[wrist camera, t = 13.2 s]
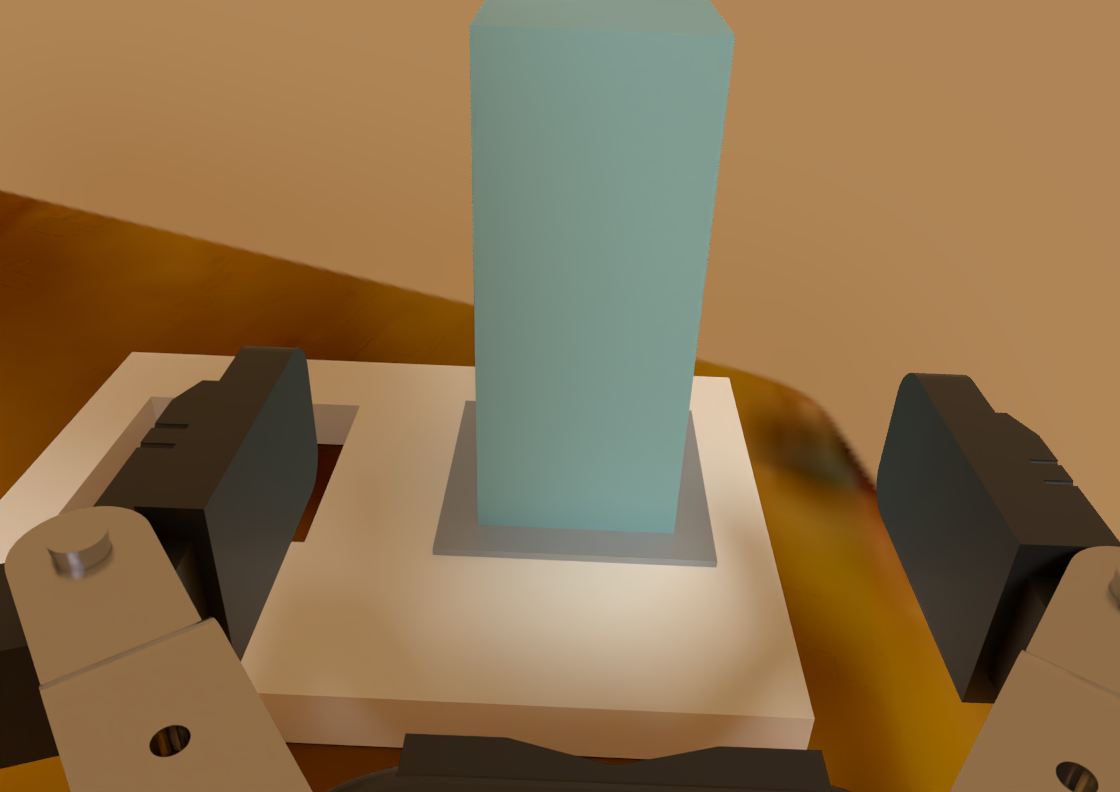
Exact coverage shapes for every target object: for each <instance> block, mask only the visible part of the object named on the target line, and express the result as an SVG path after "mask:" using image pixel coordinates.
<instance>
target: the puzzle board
mask: <svg viewBox="0 0 1120 792" xmlns="http://www.w3.org/2000/svg"><path fill="white" fill-rule="evenodd" d="M234 358H235V356H215V355H192V354H169V353H146V352H132V353H131V354H130V355H129V356H128V357H127V358H126V359H125V361H124V362H123V363H122V364H121V365H120V366H119V367H118V368H117V370H116V371H115V372H114V373H113V374H112V375H111V376H110V377H109V379H108V380H107V381H106V382H105V383H104V384H103V385H102V386H101V388H100V389H99V390H98V391H97V392H96V393H95V394H94V395H93V397H92V398H91V399H90V400H89V401H88V402H87V403H86V404H85V406H84V407H83V408H82V409H81V410H80V411H79V412H78V413H77V415H76V416H75V417H74V418H73V419H72V420H71V421H70V422H69V424H68V425H67V426H66V427H65V428H64V429H63V430H62V431H61V432H60V434H59V435H58V436H57V437H56V438H55V439H54V440H53V441H52V443H51V444H50V445H49V446H48V447H47V448H46V449H45V450H44V452H43V453H42V454H41V455H40V456H39V457H38V458H37V459H36V461H35V462H34V463H33V464H32V465H31V466H30V467H29V468H28V470H27V471H26V472H25V473H24V474H23V475H22V476H21V477H20V479H19V480H18V481H17V482H16V483H15V484H14V485H13V486H12V488H11V489H10V490H9V491H8V492H7V493H6V494H5V495H4V497H3V498H2V499H1V500H0V564H2V563H5V560H6V557H7V554H8V552H9V550H10V549H11V548H12V546H13V545H14V544H15V542H16V541H17V540H18V539H20V538H21V537H22V536H23V535H24V534H25V533H27V532H28V531H29V530H31V529H32V528H34V527H35V526H37V525H39V524H40V523H42V522H44V521H46V520H48V519H50V518H53V517H55V516H58V515H60V514H63V513H66V512H70V511H73V510H77V509H82V508H88V507H93V506H94V504H95V503H96V502H97V500H98V499H99V498H100V496H101V495H102V494H103V492H104V491H105V490H106V488H107V487H108V486H109V484H110V483H111V481H112V480H113V479H114V477H115V476H116V475H117V473H118V472H119V471H120V469H121V468H122V467H123V465H124V464H125V463H126V461H127V460H128V458H129V457H130V456H131V454H132V453H133V452H134V450H135V449H136V448H137V447H140V446H141V443H140V442H141V441H142V440H143V438H144V437H145V436H146V434H147V433H148V431H149V430H150V429H151V428H154V427H155V422H156V421H157V419H158V418H159V417H160V415H161V414H162V413H163V411H164V410H165V408H166V407H167V406H168V404H169V403H170V402H171V400H172V399H174V398H176V397H177V396H179V395H180V394H182V393H183V392H185V391H186V390H188V389H190V388H191V387H193V386H194V385H196V384H197V383H199V382H200V381H202V380H211V381H219V380H220V378H221V377H222V376H223V374H224V373H225V371H226V370H227V368H228V367H229V365H230V364H231V362H232V361H233V359H234ZM306 360H307V365H308V372H309V380H310V388H311V396H312V404H313V413H314V421H315V429H316V437H317V444H334V445H344V446H343V449H342V451H341V454H340V456H339V458H338V461H337V463H336V466H335V468H334V471H333V473H332V476H331V478H330V481H329V483H328V485H327V488H326V490H325V493H324V495H323V498H322V500H321V503H320V505H319V508H318V510H317V512H316V515H315V517H314V520H313V522H312V525H311V527H310V530H309V532H308V535H307V537H306V539H305V542H291V544H290V546H289V549H288V551H287V553H286V556H285V558H284V560H283V563H282V565H281V568H280V570H279V572H278V575H277V577H276V579H275V582H274V584H273V587H272V589H271V591H270V594H269V596H268V598H267V601H266V603H265V606H264V608H263V610H262V613H261V615H260V617H259V620H258V622H257V625H256V627H255V629H254V632H253V634H252V637H251V639H250V641H249V644H248V646H247V648H246V651H245V653H244V656H243V658H242V660H241V664H242V666H243V667H244V669H245V671H246V673H247V675H248V676H249V678H250V680H251V682H252V684H253V685H254V687H255V689H256V691H257V693H258V694H259V696H260V698H261V700H262V702H263V703H264V705H265V707H266V709H267V711H268V712H269V714H270V716H271V718H272V720H273V721H274V723H275V725H276V727H277V729H278V730H279V732H280V734H281V736H282V738H283V739H284V741H285V742H291V743H312V744H334V745H355V746H376V747H398V748H403V743H404V738H405V733H411V734H435V735H459V736H484V737H508V738H511V739H515V740H519V741H522V742H526V743H530V744H534V745H537V746H541V747H545V748H549V749H552V750H556V751H560V752H563V753H567V754H571V755H575V756H590V757H611V758H633V759H654V758H659V757H664V756H670V755H675V754H680V753H686V752H691V751H696V750H702V749H707V748H712V747H717V746H727V747H751V748H775V749H800V750H807V747H808V743H809V739H810V735H811V731H812V727H813V724H814V720H815V718H814V714H813V710H812V706H811V702H810V698H809V694H808V690H807V686H806V682H805V678H804V674H803V670H802V666H801V662H800V658H799V654H798V650H797V646H796V642H795V638H794V634H793V631H792V627H791V623H790V619H789V615H788V611H787V607H786V603H785V599H784V595H783V591H782V587H781V583H780V579H779V575H778V571H777V567H776V563H775V559H774V555H773V551H772V547H771V543H770V539H769V535H768V531H767V527H766V523H765V519H764V515H763V511H762V507H761V503H760V499H759V495H758V491H757V487H756V483H755V479H754V475H753V471H752V468H751V464H750V460H749V456H748V452H747V448H746V444H745V440H744V436H743V432H742V428H741V424H740V420H739V416H738V412H737V408H736V404H735V400H734V396H733V392H732V388H731V384H730V380H729V378H724V377H701V376H693V383H692V391H691V399H690V407H689V415H688V423H687V432H686V440H685V448H684V456H683V464H682V472H681V480H680V488H679V496H678V505H677V513H676V521H675V529H674V533H653V532H630V531H606V530H583V529H560V528H536V527H513V526H489V525H478V509H477V448H476V387H475V367H469V366H446V365H423V364H400V363H377V362H354V361H331V360H308V359H306Z"/></svg>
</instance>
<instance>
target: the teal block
mask: <svg viewBox="0 0 1120 792" xmlns="http://www.w3.org/2000/svg"><path fill="white" fill-rule="evenodd" d="M734 41H735V35H734V33H733V32H732V31H731V29H730V28H729V26H728V25H727V24H726V22H725V21H724V20H723V18H722V17H721V15H720V14H719V13H718V11H717V10H716V9H715V7H714V6H713V4H712V3H711V2H710V0H485V1H484V3H483V5H482V6H481V8H480V9H479V11H478V13H477V14H476V16H475V18H474V19H473V21H472V22H471V24H470V80H471V81H470V82H471V136H472V137H471V140H472V141H471V142H472V198H473V199H472V203H473V263H474V264H473V265H474V326H475V387H476V448H477V509H478V525H489V526H513V527H536V528H560V529H583V530H606V531H630V532H653V533H674V529H675V521H676V513H677V505H678V496H679V488H680V480H681V472H682V464H683V456H684V448H685V440H686V432H687V423H688V415H689V407H690V399H691V391H692V383H693V375H694V367H695V358H696V350H697V342H698V334H699V326H700V318H701V310H702V302H703V294H704V285H705V277H706V269H707V261H708V253H709V245H710V236H711V228H712V220H713V212H714V204H715V196H716V188H717V180H718V171H719V163H720V156H721V147H722V139H723V131H724V123H725V115H726V106H727V99H728V90H729V82H730V74H731V65H732V58H733V50H734Z"/></svg>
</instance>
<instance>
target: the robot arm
mask: <svg viewBox="0 0 1120 792" xmlns="http://www.w3.org/2000/svg"><path fill="white" fill-rule="evenodd" d="M140 443H141V446H140V447H137V448H136V449H135V450H134V452H133V453H132V454H131V456H130V457H129V458H128V460H127V461H126V463H125V464H124V465H123V467H122V468H121V469H120V471H119V472H118V473H117V475H116V476H115V477H114V479H113V480H112V481H111V483H110V484H109V486H108V487H107V488H106V490H105V491H104V492H103V494H102V495H101V496H100V498H99V499H98V500H97V502H96V503H95V504H94V506H93V507H88V508H82V509H77V510H73V511H70V512H66V513H63V514H60V515H58V516H55V517H53V518H50V519H48V520H46V521H44V522H42V523H40V524H39V525H37V526H35V527H34V528H32V529H31V530H29V531H28V532H27V533H25V534H24V535H23V536H22V537H21V538H20V539H18V540H17V541H16V542H15V544H14V545H13V546H12V548H11V549H10V550H9V552H8V554H7V557H6V560H5V563H2V564H0V769H1V768H6V767H10V766H15V765H19V764H24V763H28V762H32V761H37V760H41V759H46V758H50V757H54V756H59V755H60V758H61V762H62V765H63V768H64V771H65V775H66V778H67V781H68V784H69V787H70V791H71V792H312V790H311V788H310V786H309V784H308V783H307V781H306V779H305V777H304V775H303V774H302V772H301V770H300V768H299V766H298V765H297V763H296V761H295V759H294V757H293V756H292V754H291V752H290V750H289V748H288V747H287V745H286V743H285V741H284V739H283V738H282V736H281V734H280V732H279V730H278V729H277V727H276V725H275V723H274V721H273V720H272V718H271V716H270V714H269V712H268V711H267V709H266V707H265V705H264V703H263V702H262V700H261V698H260V696H259V694H258V693H257V691H256V689H255V687H254V685H253V684H252V682H251V680H250V678H249V676H248V675H247V673H246V671H245V669H244V667H243V666H242V664H241V660H242V658H243V656H244V653H245V651H246V648H247V646H248V644H249V641H250V639H251V637H252V634H253V632H254V629H255V627H256V625H257V622H258V620H259V617H260V615H261V613H262V610H263V608H264V606H265V603H266V601H267V598H268V596H269V594H270V591H271V589H272V587H273V584H274V582H275V579H276V577H277V575H278V572H279V570H280V568H281V565H282V563H283V560H284V558H285V556H286V553H287V551H288V549H289V546H290V544H291V541H292V539H293V537H294V534H295V532H296V530H297V527H298V525H299V522H300V520H301V518H302V515H303V513H304V510H305V508H306V506H307V503H308V501H309V499H310V496H311V494H312V491H313V488H314V485H315V480H316V475H317V466H318V446H317V437H316V429H315V421H314V413H313V404H312V396H311V388H310V380H309V372H308V365H307V360H306V356H305V353H304V352H303V350H302V349H301V348H292V347H267V346H244V347H242V348H241V349H240V350H239V352H238V353H237V355H236V356H235V358H234V359H233V361H232V362H231V364H230V365H229V367H228V368H227V370H226V371H225V373H224V374H223V376H222V377H221V378H220V380H219V381H211V380H202V381H200V382H199V383H197V384H196V385H194V386H193V387H191V388H190V389H188V390H186V391H185V392H183V393H182V394H180V395H179V396H177V397H176V398H174V399H172V400H171V402H170V403H169V404H168V406H167V407H166V408H165V410H164V411H163V413H162V414H161V415H160V417H159V418H158V419H157V421H156V422H155V427H154V428H151V429H150V430H149V431H148V433H147V434H146V436H145V437H144V438H143V440H142V441H141V442H140ZM1057 462H1058V460H1057V459H1056V457H1055V456H1054V455H1053V453H1052V452H1051V451H1050V450H1049V448H1048V447H1047V446H1046V444H1045V443H1044V442H1043V440H1042V439H1041V438H1040V436H1039V435H1037V434H1036V433H1035V432H1033V431H1031V430H1030V429H1029V428H1027V427H1026V426H1024V425H1023V424H1022V423H1020V422H1019V421H1017V420H1016V419H1014V418H1013V417H1011V416H1010V415H1008V414H1007V413H995V411H994V410H993V409H992V407H991V406H990V404H989V403H988V402H987V400H986V399H985V398H984V396H983V395H982V393H981V392H980V390H979V389H978V388H977V386H976V385H975V383H974V382H973V381H972V379H971V378H970V377H968V376H966V375H951V374H925V373H909V374H907V375H906V376H905V377H904V378H903V380H902V382H901V384H900V386H899V390H898V393H897V397H896V401H895V405H894V409H893V413H892V417H891V421H890V425H889V429H888V433H887V437H886V441H885V445H884V449H883V453H882V457H881V461H880V464H879V469H878V475H877V502H878V508H879V512H880V515H881V517H882V520H883V522H884V524H885V527H886V529H887V531H888V533H889V536H890V538H891V540H892V543H893V545H894V547H895V550H896V552H897V554H898V556H899V559H900V561H901V563H902V566H903V568H904V570H905V573H906V575H907V577H908V579H909V582H910V584H911V586H912V589H913V591H914V593H915V596H916V598H917V600H918V602H919V605H920V607H921V609H922V612H923V614H924V616H925V619H926V621H927V623H928V625H929V628H930V630H931V632H932V635H933V637H934V639H935V642H936V644H937V646H938V648H939V651H940V653H941V655H942V658H943V660H944V662H945V665H946V667H947V669H948V671H949V674H950V676H951V678H952V681H953V683H954V685H955V688H956V690H957V692H958V694H959V697H960V699H961V701H962V702H968V703H993V704H994V705H993V707H992V709H991V711H990V713H989V715H988V717H987V719H986V721H985V723H984V725H983V727H982V729H981V731H980V733H979V735H978V737H977V739H976V741H975V743H974V745H973V747H972V749H971V751H970V753H969V755H968V757H967V759H966V761H965V763H964V765H963V767H962V769H961V771H960V773H959V775H958V777H957V779H956V781H955V783H954V785H953V787H952V789H951V790H950V792H1120V542H1119V541H1118V539H1117V538H1116V537H1115V536H1114V534H1113V533H1112V531H1111V530H1110V529H1109V527H1108V526H1107V525H1106V524H1105V522H1104V521H1103V519H1102V518H1101V517H1100V516H1099V514H1098V513H1097V512H1096V510H1095V509H1094V508H1093V506H1092V505H1091V504H1090V502H1089V501H1088V500H1087V498H1086V497H1085V496H1084V494H1083V493H1082V492H1081V490H1080V489H1079V488H1078V486H1073V480H1072V479H1071V477H1070V476H1069V475H1068V473H1067V472H1066V471H1065V469H1064V468H1063V467H1062V466H1061V465H1058V464H1057ZM326 792H850V791H848V790H845V789H842V788H839V787H835V786H832V785H830V782H829V778H828V774H827V770H826V766H825V762H824V758H823V755H822V751H821V750H800V749H775V748H751V747H727V746H717V747H712V748H707V749H702V750H696V751H691V752H686V753H680V754H675V755H670V756H664V757H659V758H654V759H649V760H643V761H638V762H633V763H627V764H620V765H612V764H605V763H601V762H597V761H593V760H589V759H586V758H582V757H578V756H575V755H571V754H567V753H563V752H560V751H556V750H552V749H549V748H545V747H541V746H537V745H534V744H530V743H526V742H522V741H519V740H515V739H511V738H508V737H484V736H459V735H435V734H411V733H405V738H404V743H403V748H402V753H401V758H400V763H399V766H398V767H393V768H388V769H384V770H380V771H377V772H373V773H370V774H367V775H363V776H360V777H357V778H355V779H352V780H350V781H348V782H345V783H343V784H340V785H338V786H336V787H333V788H332V789H330V790H328V791H326Z"/></svg>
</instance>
